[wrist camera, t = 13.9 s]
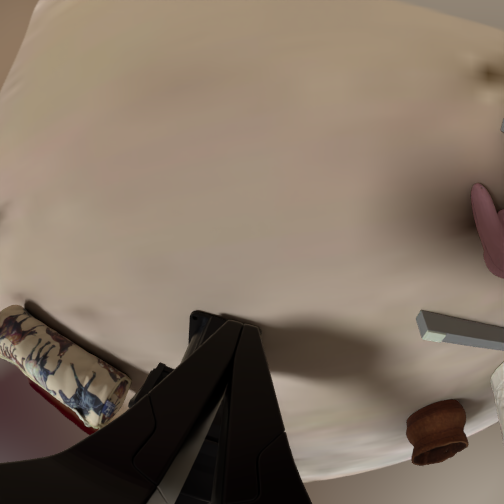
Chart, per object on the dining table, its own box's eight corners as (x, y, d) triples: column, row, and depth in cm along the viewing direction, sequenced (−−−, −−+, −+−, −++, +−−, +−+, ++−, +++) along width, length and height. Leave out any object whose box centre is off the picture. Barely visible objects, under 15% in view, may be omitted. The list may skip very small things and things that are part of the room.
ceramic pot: (472, 425, 32) (478, 460, 26) (372, 446, 37) (371, 484, 31) (506, 357, 24) (523, 401, 18) (374, 388, 29) (377, 441, 23)
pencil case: (137, 368, 34) (105, 428, 26) (131, 392, 39) (105, 444, 31) (15, 288, 33) (-26, 330, 24) (22, 322, 37) (-10, 361, 29)
